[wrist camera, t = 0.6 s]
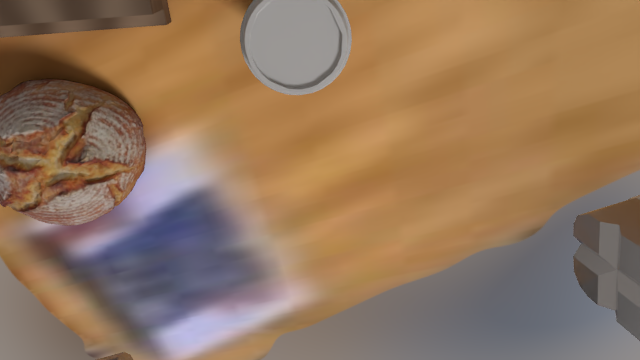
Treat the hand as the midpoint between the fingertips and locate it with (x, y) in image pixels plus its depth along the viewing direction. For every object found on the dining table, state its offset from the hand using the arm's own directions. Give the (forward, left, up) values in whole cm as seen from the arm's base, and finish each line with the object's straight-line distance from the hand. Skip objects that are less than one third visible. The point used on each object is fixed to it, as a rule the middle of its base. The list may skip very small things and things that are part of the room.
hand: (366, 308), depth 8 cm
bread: (+13, -29, -46) cm, 56 cm away
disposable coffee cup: (+2, -1, -46) cm, 46 cm away
